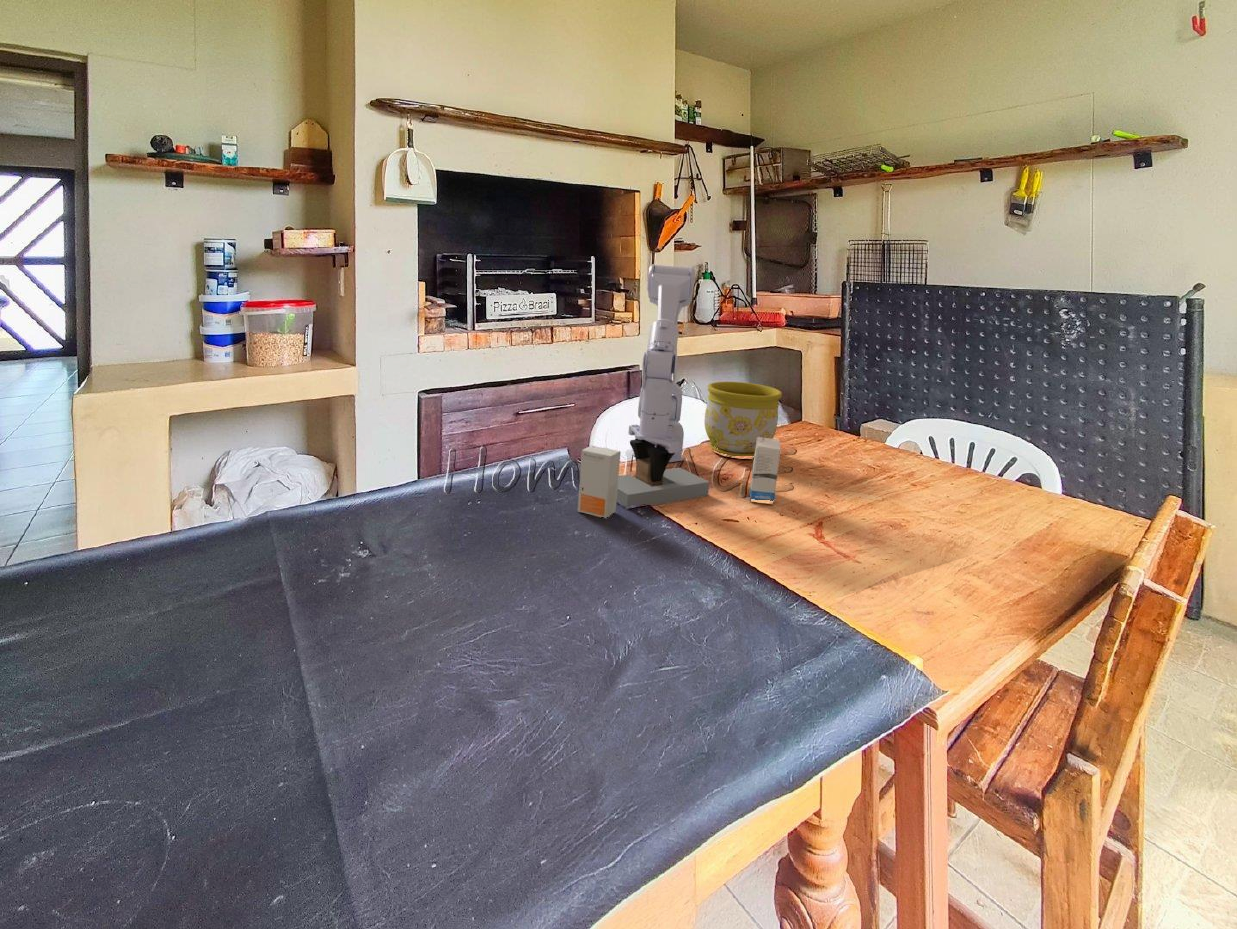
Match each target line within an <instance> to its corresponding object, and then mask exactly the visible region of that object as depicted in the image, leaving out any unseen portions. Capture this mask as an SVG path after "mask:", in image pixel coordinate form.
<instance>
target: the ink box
mask: <svg viewBox="0 0 1237 929" xmlns="http://www.w3.org/2000/svg"><path fill="white" fill-rule="evenodd" d="M780 457H781V440H780V439H775V438H773V439H769V438H762V437H757V440H756V447H755V454H754V459H753V462H752V469H751V479H750V486H749V488H750V489H749V500H750V499H755V500H770V501H773V500H774V501H775V495H776V488H777V480H778V475H779V474H778V473H779V465H780Z"/></svg>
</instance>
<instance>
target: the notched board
mask: <svg viewBox="0 0 1237 929" xmlns="http://www.w3.org/2000/svg"><path fill="white" fill-rule="evenodd" d="M710 484H711V482H710V481H709V480H707V479H705V478H702V477H700V476H698V475H696V474H694V473H692V472H690V471H688V470H686V469H684V468H681V467H673V468H666V469H665V471H664V474H663V485H660V486H654V487H652V486H650V485H648V484H646V483H644V482H642V481H640V480H639V479H637V478H635V476H633V475H631V474H629V473H628V474H622V475H619V476H618V488H617V500H616V502H618V503H620V504H621V505H625V506H626V507H629V506H631V505H638V504H646V505H651V506H657V505H663V504H667V503H674V502H675V503H676V502H679V501H685V500H691V499H698V498H703V497H702V496H704V497H707V496H706V495H708V496H709V492H710V491H709V490H710ZM651 506H650V507H651Z"/></svg>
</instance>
